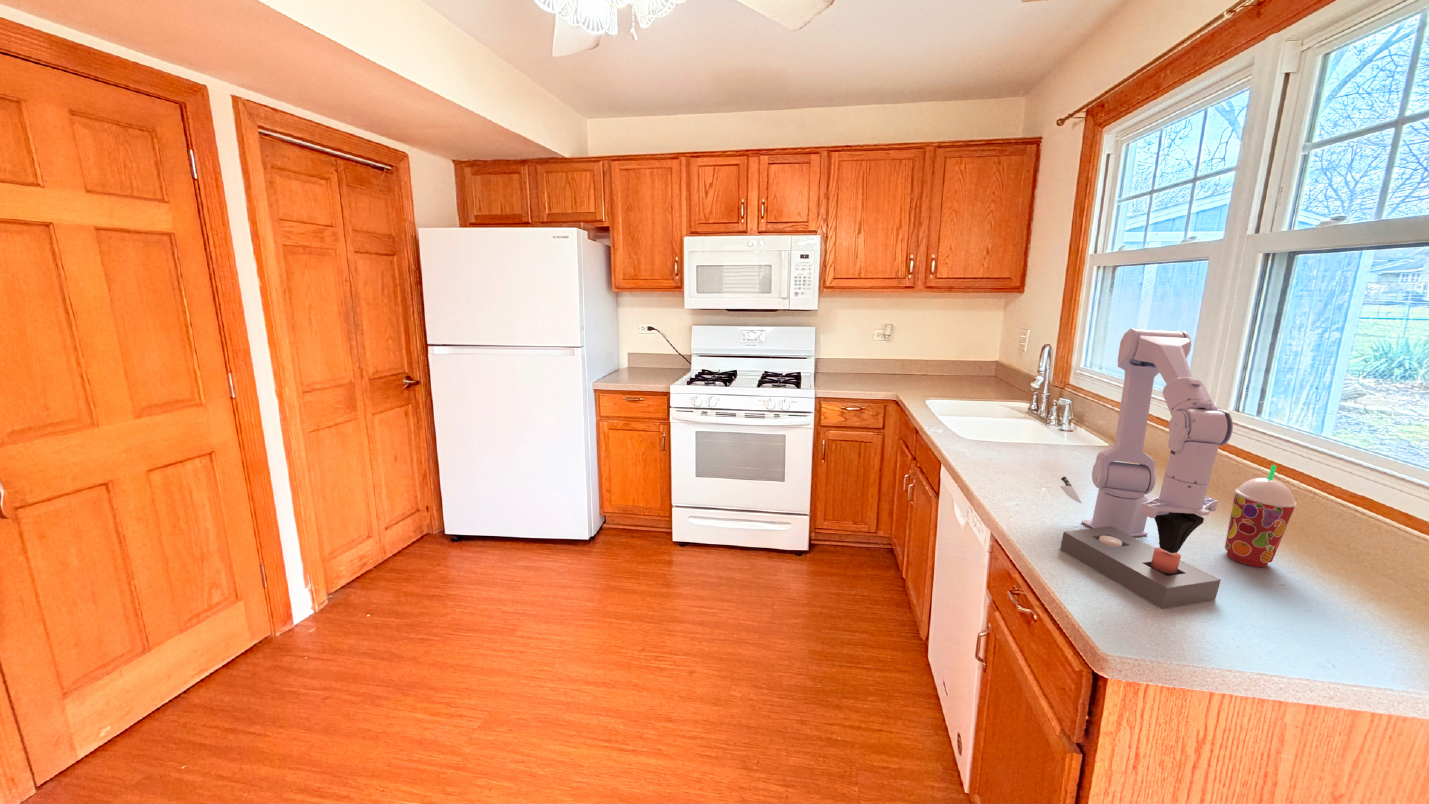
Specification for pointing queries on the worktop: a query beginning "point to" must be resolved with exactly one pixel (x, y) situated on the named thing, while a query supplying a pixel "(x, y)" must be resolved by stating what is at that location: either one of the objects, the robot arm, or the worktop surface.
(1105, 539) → the beige button
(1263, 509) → the smoothie
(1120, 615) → the worktop surface
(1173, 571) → the red button
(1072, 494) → the chef's knife
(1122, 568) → the block
